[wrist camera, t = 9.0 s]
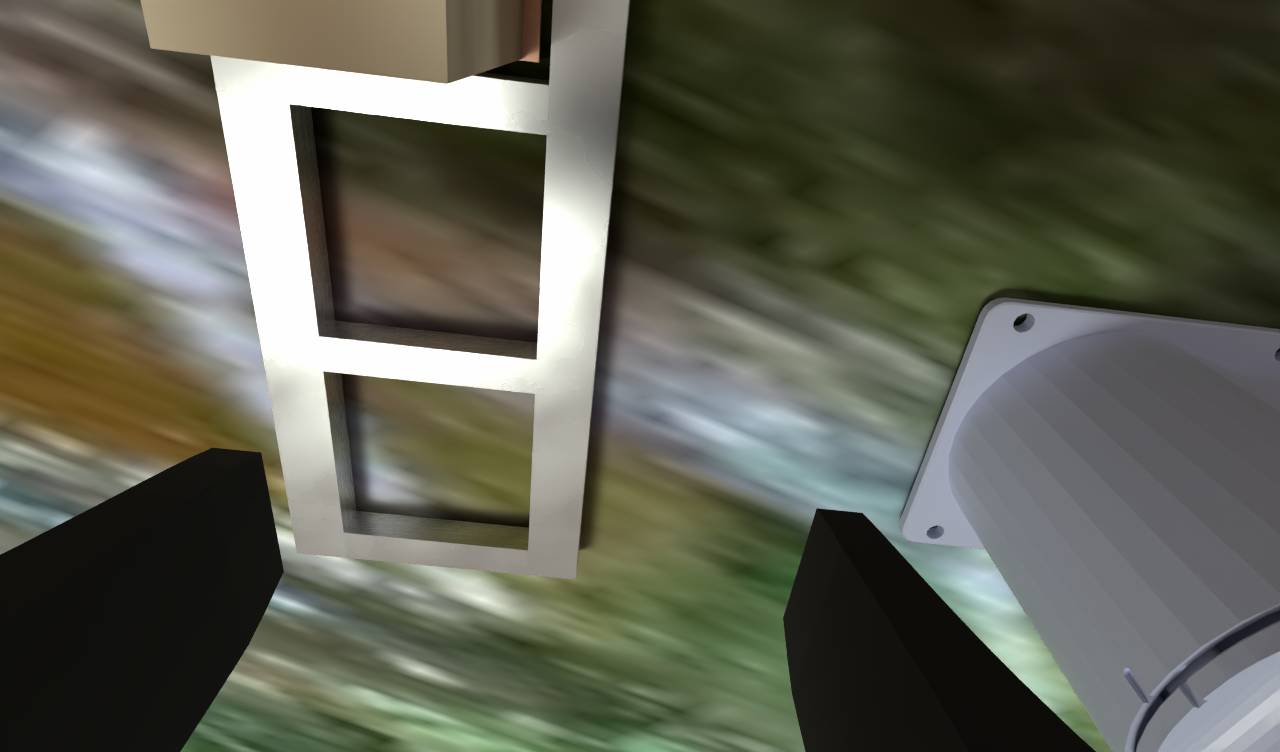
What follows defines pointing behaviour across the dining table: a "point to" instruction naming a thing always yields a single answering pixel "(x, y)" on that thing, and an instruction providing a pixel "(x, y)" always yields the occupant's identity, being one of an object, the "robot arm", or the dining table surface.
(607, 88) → the white rectangular slotted frame
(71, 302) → the dining table surface
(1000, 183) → the dining table surface
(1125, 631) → the robot arm
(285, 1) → the block
